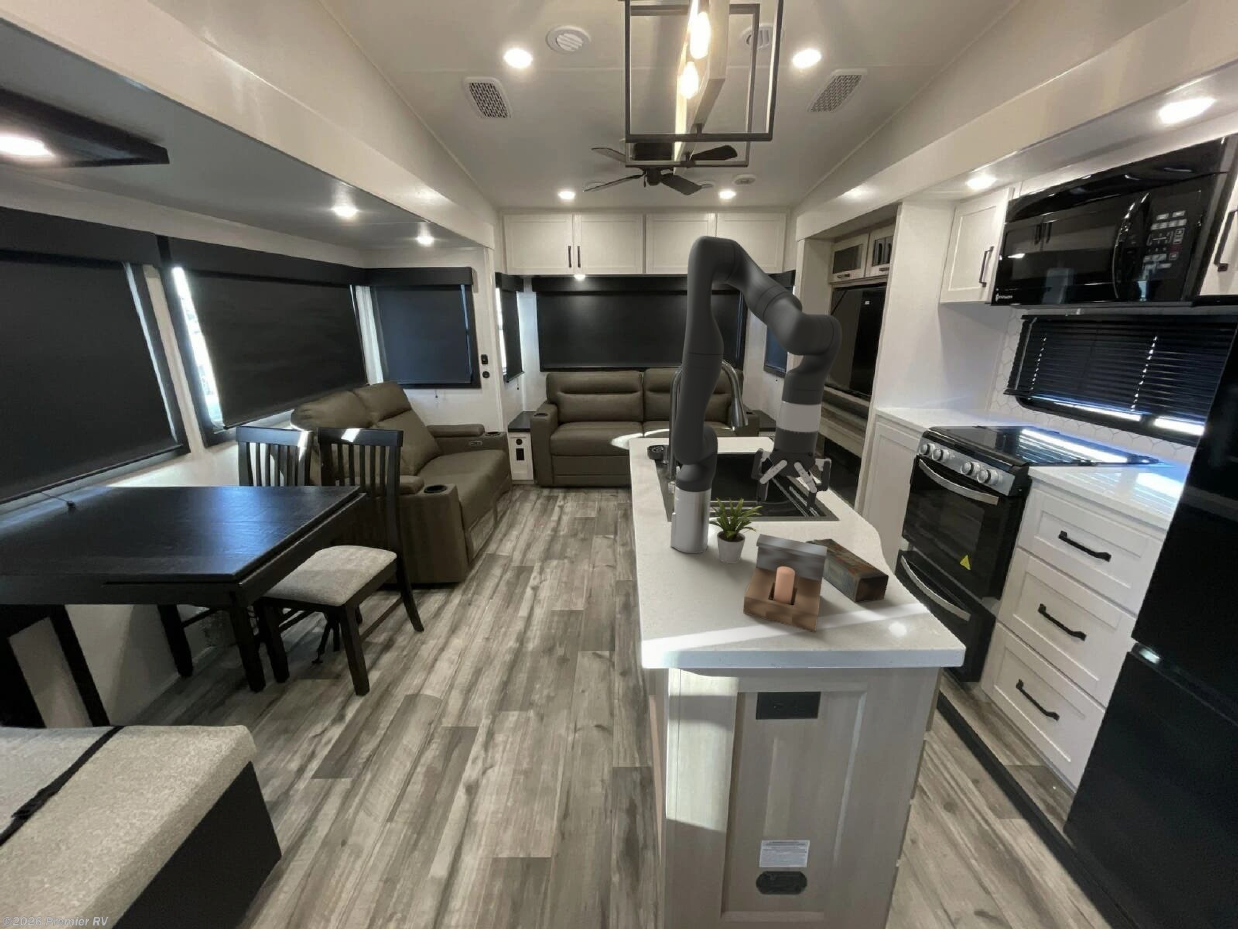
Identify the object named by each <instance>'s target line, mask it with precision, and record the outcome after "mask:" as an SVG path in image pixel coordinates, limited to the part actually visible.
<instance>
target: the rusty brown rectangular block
mask: <svg viewBox="0 0 1238 929" xmlns="http://www.w3.org/2000/svg"><path fill="white" fill-rule="evenodd" d="M805 543H810V544H815V545H820V546H825V547H827V553H826V561H825V565H824V571H823V577H822V578H823V579H825V580H826V581H828V582H829V583H830V584H831V585H832V586H834V587H835V588H837V589H838V590H839V591H840V592H841V593H842V594H844V595H846V597H848V598H850V600H852V601H853V602H854V603H861V602H869V601H870V602H871V601H877V600H884V598H885V596H886V591H887V587H888V584H889V578H890V576H889V575H888V574H887V573H885V572H884V571H882V569H881V570H880V568H877V567H876V566H874V565H873V564H871V563H870V562H868V561H866V560H865V559H863V558H862V557H860V556H858V555H857V554H855V553H853V552H852V551H851V550H849V549H848V548H846V547H845V546H842V544H840V543H838V542H837V541H836V540H834V539H832V538H823V539H816V538H814V539H811V540H807V541H805Z"/></svg>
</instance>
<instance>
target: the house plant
mask: <svg viewBox="0 0 1238 929" xmlns="http://www.w3.org/2000/svg"><path fill="white" fill-rule="evenodd" d="M716 500H717V503H718V506H719V508H720V512H719V511H718V509H716V508H715V507H713V506H711V508H712V509H713V510H714V511H715V513H716V514H717V516H719V517H716V521H717V522H716V521H714V520H709V522H708V523H709V525H713V526H716V527H719V528H721V531H718V533H717V534H716V538H717V549H718V557H719V559H720V560H721V562H724V563H728V564H736V563H738V562H740V559H741V556H742V553H743V549H744V546H745V542H746V536H745V533H746V531H744V532H743V533H742V532H740V531H742V530H746V529H747V532H748V531H754V532H755V533H756V534H757V531H758V530H757V529H755V528H754V527H752V526H749V525H750V524H753V523H752V522H754V520H755V519H756V517H750V518H748V517H749V516H751V515H759V516H761V515H763V514H761V513H758V511H759V508H762V507H763V505H758V506H756V507H755V506H754V507H753V508H750V509H749V510H747V511H743V512H742V509H743V503H744V498H743V497H741V498H740V499H739V502H738V503H737V505H736V507H735V509H734V505H733V502H732V500H731V498H730V497H729V506H730V509H729V508H728V509H726V507H725V505H724V503H722V501H721V499H719V498H718V497H716ZM727 510H729V512H730V516H729V518H728V513H727ZM756 511H757V512H756ZM741 515H742V516H741ZM739 516H741V517H740V518H739Z"/></svg>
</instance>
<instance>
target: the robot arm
mask: <svg viewBox="0 0 1238 929" xmlns="http://www.w3.org/2000/svg"><path fill="white" fill-rule="evenodd" d="M690 247H691V248H690V250H689V253H688V254H689V255H688V260H687V276H686V278H687V279H686V280H687V283H686V285H687V292H686V293H687V295H686V296H687V299H686V300H687V302H686V306H687V308H686V324H685V333H684V344H683V351H682V363H681V374H680V375H681V379H680V386H679V388H680V389H679V397H678V406H677V412H676V417H675V422H674V425H673V426H674V427H673V432H672V438H671V450H672V454H673V456H674V458H675V460H677V462H679V463H680V464H681V465H682V466H681V468H680V470H679V471H678V472H677V474H676V477H675V488H674V510H673V512H672V513H671V521H670V522H671V524H670V547H671V548H674V549H676V550H677V551H679V552H682V553H685V554H699V553H702V552H705V551H706V550H707V549H708V541H709V527H710V524H709V523H708V522H710V514H711V513H710V512H711V510H710V509H711V497H712V482H713V480H714V479H715V478H714V477H715V475H716V471H717V463H718V462H717V460H718V453H719V440H718V436H717V433H716V431H715V430H714V428H712V426H710V425H709V424H706V423H705V419H706V413H707V409H708V406H709V403H710V401H711V398H712V397H713V394H714V391H715V390H716V387H717V385H718V382H719V380H720V377H721V373H722V368H723V359H724V352H725V351H724V349H725V348H724V347H725V346H724V345H725V344H724V340H723V336H722V334H721V331H720V328H719V326H718V323H717V320H716V319H715V316H714V312H713V306H712V294H713V292H712V291H713V284H715V285H724V284H727V285H729V286H731V287H733V288H735V289H737V290H739V291H740V292H741V293H742V294H743V296H744V301H745V305H746V307H747V308H748V309H749V311H750V312H751V313H752V314H753V315H754V317H755V318H757V319H758V320H759V321H761V322H762V323H763V324H764V325H765V326H766V327H768V328H769V329H770V331H771V333H772V335H773V336H774V339H775V340H776V342H777V343H778V345H779V346H780V347H781V348H782V349H783V350H784V351H785V352H787V353H789V354H791V355H793V356H797V357H798V356H799V357H800V356H801V357H802V359H801V361H800V363H799V365H798V366H796V367H794V368H791V369H789V370H788V371H786V373H785V376H784V379H783V387H782V392H781V400H780V404H779V408H778V413H777V418H776V420H775V423H776V425H775V426H776V427H775V433H774V434H775V435H774V440H773V447H772V450H771V451H769V450H764V449H763V448H758V449H757V450H756V452H755V453H754V454H755V455H754V459H753V465H752V469H751V475H750V477H751V479H752V480H756V481H758V482H759V490H758V498H760V500H761V501H762V502H766V500H767V496H768V489H769V482H770V481H769V480H771V478H773V477H774V476H776V475H777V474H779V475H780V476H783V477H791V478H793V479H798V478H801V479H802V480H803V482H804V483H805V484H806V486H807V487H808V489H809V490H808V494H807V501H806V505H805V506H806V507H805V509H806V510H808V511H810V510H811V508H814V507H815V504H816V500H817V494H818V492H819V493H820V492H827V491H828V489H829V485H830V478H831V477H830V476H831V467H832V459H831V458H830V457H826V458H825V459H824V458H823V459H822V458H816V456H815V455H816V448H817V442H818V441H817V440H818V435H819V429H820V424H821V418H822V417H821V416H822V403H823V396H824V392H825V384H826V383H825V382H826V380H827V378H828V376H829V374H830V372H831V370H832V367H833V364H834V363H835V360H836V357H837V355H838V353H839V350H840V348H841V344H842V339H843V330H842V326H841V323H840V321H839V320H838V318H836V317H835V316H833V315H831V314H822V313H821V314H816V313H815V314H812V313H811V314H809V313H805V312H803V309H804V308H803V303H802V302H801V300H800V299H799V297H797V296H796V295H795V294H793V293H792V292H791V291H790V290H789V289H787V288H785V287H784V286H783V285H781V284H780V283H778V282H777V281H776V280H774V279H773V278H772V277H771V276H769V275H768V274H767V273H766V272H765V271H764V270H763V269H762V268H761V267H760V266H759V264H757V262H756V261H755V260H754V259H753V258H752V257H751V256H750V254H749V253H748V252H747V251H746V249H745V248H744V247H743V246H742V245H741V244H740V243H739V242H738V241H736V240H734V239H731V238H726V237H718V236H717V237H716V236H712V235H711V236H710V235H701V236H699V237H697V238H696V239H695V240H694V242H693V243H692V245H691V246H690ZM767 458H769V461H770V462H771V463H772V466H771V467H770V468H769V469H768V470H767V471H766V472H765V473H764V474H763V473H762V472H761V468H762V462H765V461H766V459H767ZM815 465H816V466H817V467H818V471H821V472H822V476H821V482H817V480H816V479H815V478H814V475H813V473H812V472H811V471H810V470H811V469H812V468H813V467H815Z"/></svg>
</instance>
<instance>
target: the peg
mask: <svg viewBox="0 0 1238 929" xmlns="http://www.w3.org/2000/svg"><path fill="white" fill-rule="evenodd" d="M794 577H795V571H794V570H793V569H792V568H789V567H779V568H778V569H777V576H776V584H775V592H774V599H772V601H776V602H780V603H784V604H788V605H792V603H791V599H792V591H793V584H794Z"/></svg>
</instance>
